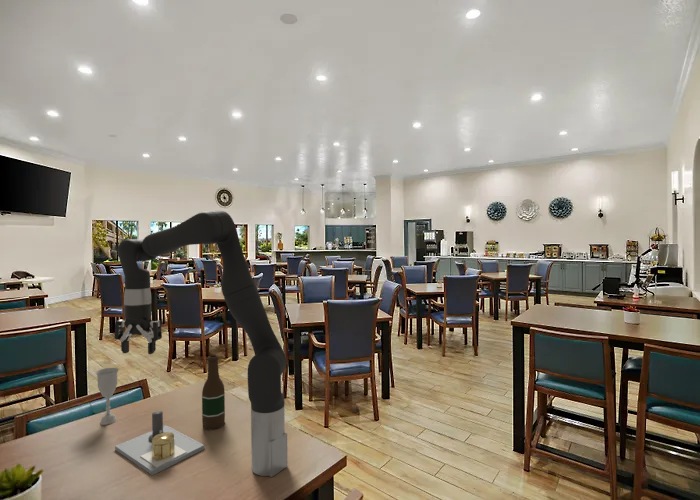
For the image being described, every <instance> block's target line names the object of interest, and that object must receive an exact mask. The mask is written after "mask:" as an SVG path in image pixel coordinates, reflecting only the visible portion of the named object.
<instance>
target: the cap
mask: <svg viewBox="0 0 700 500" xmlns="http://www.w3.org/2000/svg"><path fill="white" fill-rule="evenodd" d="M174 453H175V444H174V434H173V433H171V432H165V433H160V434H158V435H156V436H154V437H153V438H152V457H153V459H155V460H163V459H166V458H168V457H170V456H172V455H173V454H174Z"/></svg>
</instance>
